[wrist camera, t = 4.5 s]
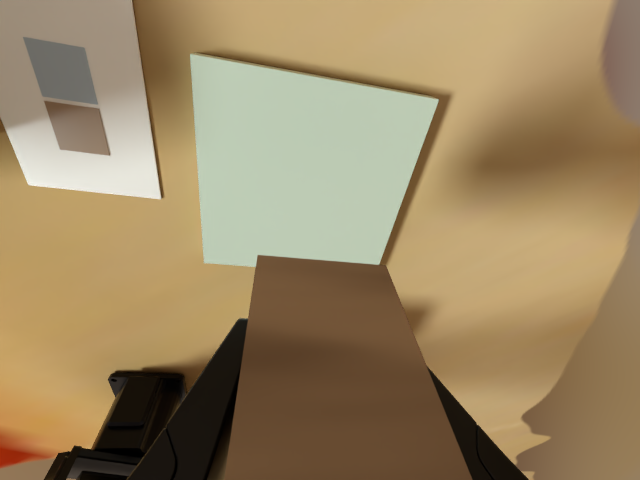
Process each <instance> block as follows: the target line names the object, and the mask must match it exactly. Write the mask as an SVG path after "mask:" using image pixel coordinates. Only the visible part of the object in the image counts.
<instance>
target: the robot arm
mask: <svg viewBox="0 0 640 480" xmlns="http://www.w3.org/2000/svg"><path fill="white" fill-rule="evenodd" d="M247 323H248V319H245V318H240V319H238V320H237V322H236V323H235V324H234V326H233V327H232V329H231V330H230V332H229V333H228V335H227V336H226V338H225V339H224V341H223V342H222V344H221V345H220V346H219V348H218V349H217V351H216V352H215V354H214V355H213V357H212V358H211V360H210V361H209V363H208V364H207V366H206V367H205V369H204V370H203V371H202V373H201V374H200V376H199V377H198V379H197V380H196V382H195V383H194V385H193V386H192V388H191V389H190V391H189V392H188V393H187V391H186V384H185V378H184V376H183V375H181V374H137V373H112V374H111V375H110V376H109V378H108V381H109V383H110V386H111V388H112V390H113V393H114V395H115V397H116V398H115V400H114V402H113V404H112V406H111V408H110V410H109V413H108V415H107V417H106V419H105V421H104V423H103V425H102V427H101V429H100V431H99V433H98V436H97V438H96V440H95V442H94V444H93V446H92V448H91V449H85V448H82V447H81V446H74V447H73V449H72V450H71V452H69V451H68V452H63V453H58V455H57V457H56V459H55V460H54V462H53V464H52V466H51V468H50V470H49V471H48V473H47V475H46V477H45V479H44V480H66V479H67V478H72V479H76V480H224V478H225V471H226V464H227V458H228V451H229V444H230V437H231V431H232V424H233V417H234V411H235V404H236V397H237V390H238V384H239V377H240V370H241V364H242V357H243V350H244V343H245V337H246V330H247ZM426 366H427V365H426ZM427 368H428V367H427ZM428 371H429V373H430V376H431V378H432V381H433V383H434V386H435V388H436V391H437V393H438V396H439V398H440V401H441V403H442V406H443V408H444V411H445V413H446V416H447V418H448V420H449V423H450V425H451V428H452V430H453V433H454V435H455V438H456V440H457V443H458V445H459V448H460V450H461V453H462V455H463V458H464V460H465V463H466V465H467V467H468V470H469V472H470V475H471V477H472V480H529V479H528V478H527V477H526V476H525V475H524V474H523V473H522V472H521V471H520V470H519V469H518V468H517V467H516V466H515V465H514V464H513V463H512V462H511V461H510V460H509V459H508V458H507V457H506V455H505V454H504V453H503V452H502V451H501V450H500V449H499V448H498V447H497V445H496V444H495V443H494V442H493V441H492V440H491V439H490V438H489V437H488V435H487V434H486V433H485V432H484V431H483V430H482V429H481V427H480V426H479V425H477V424H476V422H475V421H474V419H473V418H472V417H471V416H470V415H469V414H468V413H467V411H466V410H465V409H464V408H463V407H462V406H461V405H460V403H459V402H458V401H457V400H456V399H455V398H454V396H453V395H452V394H451V393H450V392H449V391H448V390H447V388H446V387H445V386H444V385H443V384H442V383H441V382H440V380H439V379H438V378H437V377H436V376H435V375H434V374H433V372H432V371H431V370H430V369H429V368H428Z"/></svg>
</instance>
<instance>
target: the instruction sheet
mask: <svg viewBox="0 0 640 480" xmlns="http://www.w3.org/2000/svg"><path fill="white" fill-rule="evenodd" d="M0 118H1V120H2V123H3V125H4V127H5V130H6V132H7V135H8V137H9V139H10V142H11V144H12V147H13V149H14V151H15V154H16V156H17V159H18V161H19V163H20V166H21V168H22V171H23V173H24V175H25V178H26V180H27V183H28V185H32V186H41V187H51V188H60V189H70V190H79V191H88V192H98V193H107V194H117V195H126V196H135V197H145V198H154V199H161V192H160V185H159V178H158V172H157V165H156V158H155V151H154V145H153V138H152V131H151V124H150V118H149V111H148V104H147V97H146V91H145V84H144V77H143V70H142V64H141V57H140V50H139V43H138V37H137V30H136V23H135V16H134V10H133V3H132V0H0Z"/></svg>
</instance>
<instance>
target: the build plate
mask: <svg viewBox="0 0 640 480" xmlns="http://www.w3.org/2000/svg"><path fill="white" fill-rule="evenodd" d="M190 62H191V77H192V92H193V106H194V121H195V136H196V151H197V166H198V181H199V196H200V211H201V225H202V240H203V255H204V263H211V264H225V265H238V266H251V267H256V263H257V256H258V255H266V256H278V257H290V258H302V259H314V260H326V261H339V262H351V263H363V264H375V265H379V264H380V261H381V258H382V255H383V253H384V250H385V247H386V244H387V242H388V239H389V236H390V233H391V231H392V228H393V225H394V222H395V220H396V217H397V214H398V211H399V209H400V206H401V203H402V200H403V198H404V195H405V192H406V189H407V187H408V184H409V181H410V178H411V176H412V173H413V170H414V167H415V165H416V162H417V159H418V156H419V154H420V151H421V148H422V145H423V143H424V140H425V137H426V134H427V132H428V129H429V126H430V123H431V121H432V118H433V115H434V112H435V110H436V107H437V104H438V101H439V99H437V98H435V97H432V96H428V95H423V94H417V93H412V92H406V91H401V90H396V89H390V88H385V87H379V86H374V85H369V84H363V83H358V82H352V81H347V80H341V79H336V78H331V77H325V76H320V75H314V74H309V73H304V72H298V71H293V70H287V69H282V68H276V67H271V66H266V65H260V64H255V63H249V62H244V61H238V60H233V59H228V58H222V57H217V56H211V55H206V54H201V53H192V54H190Z"/></svg>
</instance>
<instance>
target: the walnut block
mask: <svg viewBox="0 0 640 480" xmlns="http://www.w3.org/2000/svg"><path fill="white" fill-rule="evenodd" d="M224 480H472V477H471V475H470V472H469V470H468V467H467V465H466V463H465V460H464V458H463V455H462V453H461V450H460V448H459V445H458V443H457V440H456V438H455V435H454V433H453V430H452V428H451V425H450V423H449V420H448V418H447V416H446V413H445V411H444V408H443V406H442V403H441V401H440V398H439V396H438V393H437V391H436V388H435V386H434V383H433V381H432V378H431V376H430V373H429V371H428V368H427V366H426V364H425V361H424V359H423V356H422V354H421V351H420V349H419V346H418V344H417V341H416V339H415V336H414V334H413V331H412V329H411V326H410V324H409V321H408V319H407V316H406V314H405V312H404V309H403V307H402V304H401V302H400V299H399V297H398V294H397V292H396V289H395V287H394V284H393V282H392V279H391V277H390V274H389V272H388V269H387V267H386V265H375V264H363V263H351V262H339V261H326V260H314V259H302V258H290V257H278V256H266V255H258V256H257V263H256V269H255V276H254V283H253V290H252V296H251V303H250V310H249V316H248V323H247V330H246V337H245V343H244V350H243V357H242V364H241V370H240V377H239V384H238V390H237V397H236V404H235V411H234V417H233V424H232V431H231V437H230V444H229V451H228V458H227V464H226V471H225V478H224Z"/></svg>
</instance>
